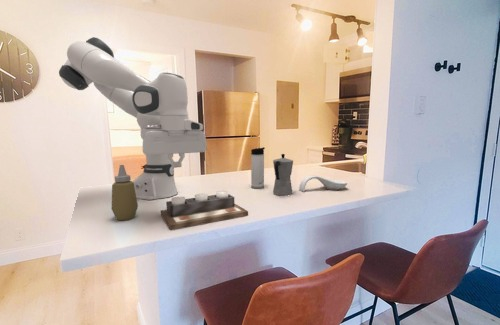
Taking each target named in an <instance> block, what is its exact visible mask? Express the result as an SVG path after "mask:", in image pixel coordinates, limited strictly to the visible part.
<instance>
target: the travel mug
mask: <svg viewBox="0 0 500 325" xmlns="http://www.w3.org/2000/svg"><path fill="white" fill-rule="evenodd" d="M265 149H266V147H257V148H252V149H251V153H250V154H251V156H250V164H251V166H250V167H251V169H250V170H251V172H250V174H251V177H250V178H251V180H250V181H251V183H250V184H251V185H250V186H251V188H252V189H254V190H259V189H260V190H263V189H265V188H264V187H265V153H264V152H265Z"/></svg>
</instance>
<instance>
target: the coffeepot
mask: <svg viewBox="0 0 500 325" xmlns="http://www.w3.org/2000/svg"><path fill="white" fill-rule="evenodd" d="M285 155H286V154H285V153H281V154H280V156H281V157H280V158H276V159H273V160H272V163H273V170H274V171H273V172H274V175H275V177H274V178H275V179H274V185H273V190H272V191H273V192H272V193H273V195H275V196H277V197H288V195H289V196H292V195H293V189H292V188H293V185H292V180H291V175H292V172H293V167H294V166H293V164H294V160H293V159H290V158H285Z"/></svg>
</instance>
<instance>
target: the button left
mask: <svg viewBox="0 0 500 325" xmlns="http://www.w3.org/2000/svg"><path fill="white" fill-rule="evenodd" d="M185 199H186V197H185V196H172V198H171V199H170V201H171V202H172V206H174V205H180V204H185Z"/></svg>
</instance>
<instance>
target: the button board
mask: <svg viewBox="0 0 500 325" xmlns="http://www.w3.org/2000/svg"><path fill="white" fill-rule="evenodd" d="M207 196H208V201H201V202H196V201H195V197H190V198H185V204H180V205H174V206H172V202H171V200H169V201H168V200H167V201H166V202H165V203H166V205H165V206H166V209H163V210H161V209H160V216H161V217H162V219H163V221H164V222H165V223H166V225H167V227H168V228H169V229H170V231H173V230H174V231H175V230H179V229H184V228H185V229H186V228H190V227H195V226H199V225H206V224H210V223H211V224H212V223H216V222H220V221H221V222H222V221H226V220H232V219H238V218H241V217H242V218H243V217H248V216H249V211H248V210H246V209H245V208H243V207H242V206H240V205H238V204H236V203H235V196H233V195H231V194H230V193H228V198H221V199H218V198H216V194H211V195H207Z"/></svg>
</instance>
